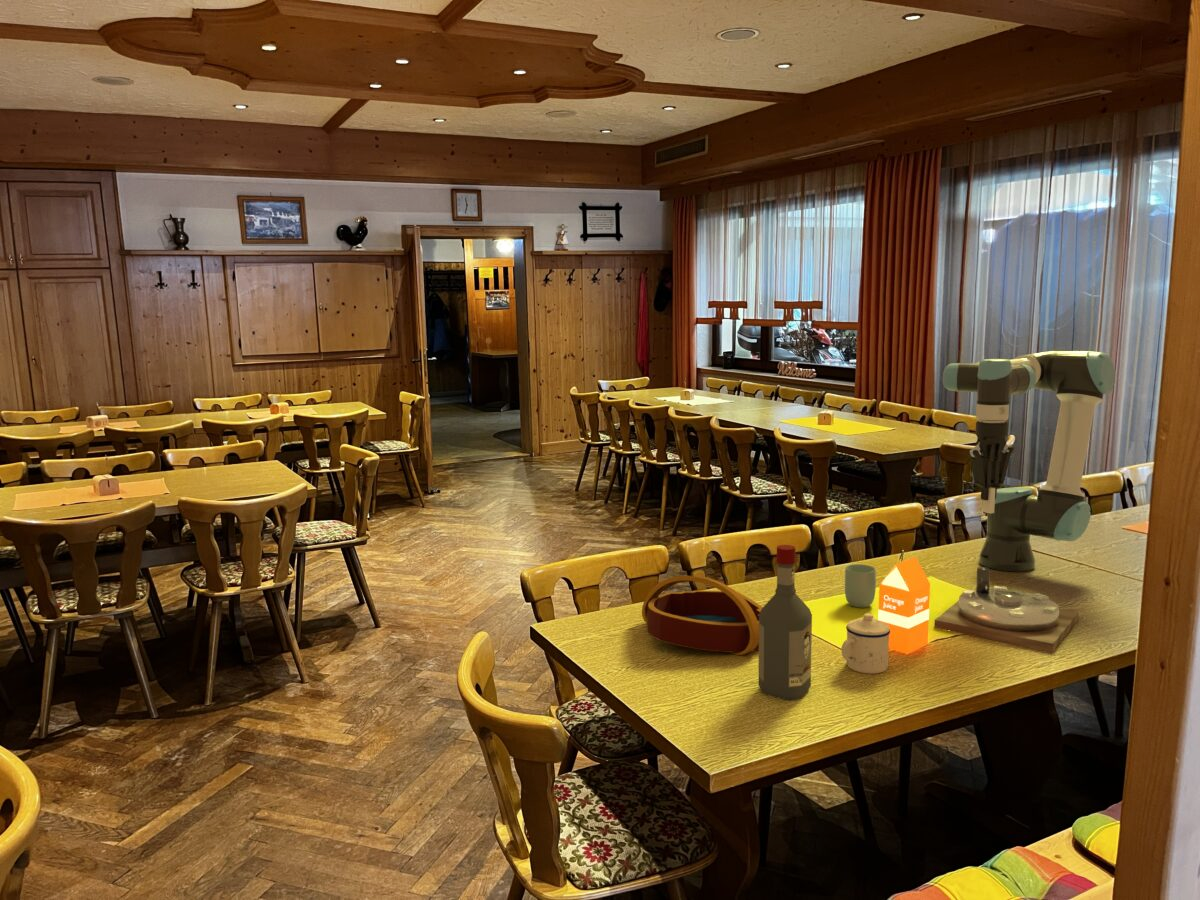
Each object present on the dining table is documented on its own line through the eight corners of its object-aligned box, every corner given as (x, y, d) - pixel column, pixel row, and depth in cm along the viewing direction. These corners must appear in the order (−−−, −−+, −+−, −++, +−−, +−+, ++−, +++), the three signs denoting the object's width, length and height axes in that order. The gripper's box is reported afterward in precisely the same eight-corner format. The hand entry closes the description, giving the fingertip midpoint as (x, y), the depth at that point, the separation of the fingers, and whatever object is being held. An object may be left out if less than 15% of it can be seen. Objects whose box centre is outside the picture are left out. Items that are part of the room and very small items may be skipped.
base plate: (968, 599, 229) (968, 591, 229) (1078, 619, 213) (1079, 610, 213) (934, 627, 210) (934, 618, 209) (1052, 652, 193) (1053, 642, 193)
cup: (841, 607, 225) (842, 570, 224) (847, 599, 232) (848, 562, 231) (872, 611, 222) (873, 574, 220) (877, 602, 228) (878, 566, 227)
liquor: (754, 693, 176) (755, 549, 171) (772, 677, 184) (773, 539, 179) (797, 703, 171) (799, 555, 166) (814, 686, 178) (816, 544, 174)
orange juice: (877, 644, 200) (879, 560, 197) (898, 635, 205) (900, 553, 202) (907, 654, 194) (911, 568, 191) (928, 644, 200) (932, 560, 196)
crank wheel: (1080, 624, 203) (1082, 587, 202) (1001, 635, 198) (1003, 597, 196) (1012, 596, 224) (1014, 562, 223) (939, 605, 219) (940, 570, 217)
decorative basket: (793, 651, 203) (799, 588, 203) (710, 667, 184) (716, 597, 184) (689, 617, 229) (694, 561, 228) (606, 628, 210) (611, 567, 209)
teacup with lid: (866, 655, 194) (867, 605, 192) (898, 668, 186) (900, 616, 185) (826, 666, 188) (827, 615, 186) (858, 681, 180) (859, 627, 179)
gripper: (983, 424, 213) (978, 517, 217) (1023, 420, 217) (1019, 512, 221) (960, 420, 220) (956, 511, 224) (1000, 417, 224) (996, 506, 228)
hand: (987, 512), depth 222 cm, fingers closed
